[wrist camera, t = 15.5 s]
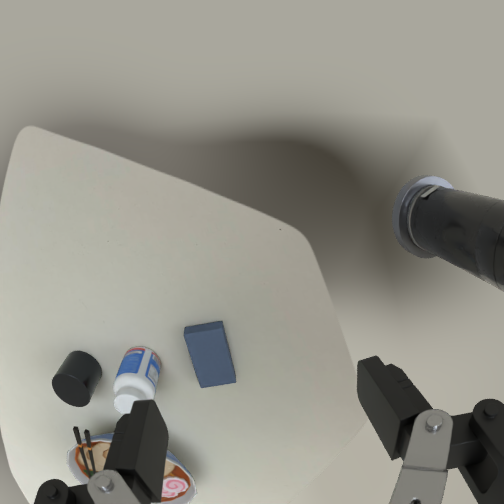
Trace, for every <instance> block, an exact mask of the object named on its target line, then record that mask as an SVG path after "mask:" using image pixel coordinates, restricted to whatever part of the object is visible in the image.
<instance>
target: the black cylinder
mask: <svg viewBox="0 0 504 504" xmlns="http://www.w3.org/2000/svg"><path fill="white" fill-rule="evenodd" d="M101 375H102V371H101V367H100V365H99V363H98V362H97V360H96V359H95V358H94V357H92V356H91V355H89V354H88V353H85V352H82V351H73V352H71V353H70V354H69V355H68V356H67V358H66V359H65V361H64V362H63V364H62V365H61V367H60V368H59V370H58V371H57V373H56V374H55V376H54V377H53V380H52V386H53V389H54V391H55V393H56V394H57V396H58V397H59V398H60V399H61V400H63V401H64V402H66V403H67V404H69V405H72V406H76V407H83V406H86V405H87V404H88V403H89V402H90V399H91V397H92V395H93V393H94V391H95V389H96V386H97V384H98V382H99V380H100V378H101Z"/></svg>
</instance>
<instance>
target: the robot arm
mask: <svg viewBox="0 0 504 504" xmlns="http://www.w3.org/2000/svg"><path fill="white" fill-rule="evenodd" d="M406 223H407V230H408V234H409V236H410V238H411V240H412V242H413V243H414V244H415V245H416V246H417V247H419V248H421V249H423V250H425V251H428V252H430V253H432V254H434V255H436V256H438V257H440V258H442V259H444V260H446V261H448V262H450V263H452V264H454V265H455V266H457V267H459V268H461V269H463V270H465V271H467V272H469V273H471V274H473V275H474V276H476V277H478V278H480V279H482V280H483V281H486V282H487V283H489V284H491V285H493V286H495V287H496V288H498V289H500V290H502V291H504V200H500V199H496V198H492V197H488V196H483V195H478V194H474V193H468V192H464V191H459V190H454V189H449V188H445V187H442V186H437V185H430V186H426V187H424V188H422V189H421V190H420V191H418V192H417V193H416V195H415V196H414V197H413V199H412V201H411V203H410V205H409V208H408V212H407V219H406ZM357 393H358V398H359V401H360V403H361V405H362V407H363V409H364V411H365V412H366V414H367V416H368V418H369V420H370V421H371V423H372V425H373V427H374V429H375V431H376V432H377V434H378V436H379V438H380V440H381V441H382V443H383V445H384V447H385V449H386V451H387V452H388V454H389V456H390V458H391V460H394V459H397V458H399V457H401V458H402V460H403V465H402V468H401V471H400V474H399V477H398V480H397V483H396V486H395V489H394V491H393V494H392V497H391V500H390V503H389V504H441V501H442V498H443V494H444V490H445V485H446V480H447V475H448V470H447V469H452V468H457V467H458V469H459V471H460V472H461V474H462V476H463V478H464V479H465V481H466V483H467V484H468V486H469V488H470V490H471V492H472V493H473V495H474V497H475V499H476V500H477V502H478V504H504V404H503V403H502V402H500V401H498V400H495V399H485V400H482V401H480V402H479V403H477V404H476V405H475V407H474V409H473V412H471V413H466V414H461V415H456V416H450V415H449V414H448V413H446V412H445V411H443V410H439V409H433V408H432V407H431V406H430V404H429V403H428V402H427V401H426V399H425V398H424V397H423V395H422V394H421V393H420V392H419V390H418V389H417V388H416V387H415V386H414V385H413V383H412V382H411V380H410V379H408V377H407V376H406V374H405V373H404V372H403V370H402V369H400V368H398V367H396V366H395V365H393V364H389V365H386V366H385V365H384V364H383V362H382V361H381V360H380V358H379V357H378V356H373V357H370V358H366V359H363V360H360V361H358V365H357ZM167 446H168V430H167V426H166V424H165V422H164V420H163V418H162V416H161V413H160V411H159V409H158V407H157V405H156V403H155V401H154V400H153V399H149V400H136V401H134V402H133V405H132V408H131V412H130V413H126V414H124V415H123V416H122V417H121V418H120V420H119V421H118V422H117V425H116V428H115V431H114V434H113V437H112V442H111V444H110V447H109V451H108V454H107V457H106V461H105V464H104V468H103V470H101V471H99V472H97V473H95V474H94V475H92V477H91V478H90V479H89V481H88V483H87V484H83V485H77V486H72V487H68V486H67V485H66V484H65V483H64V482H63V481H61V480H58V479H51V480H48V481H46V482H44V483H43V484H42V485H41V486H40V488H39V490H38V492H37V495H36V498H35V502H34V504H151V503H161V498H162V488H163V479H164V471H165V462H166V454H167Z"/></svg>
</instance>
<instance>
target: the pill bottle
mask: <svg viewBox="0 0 504 504" xmlns="http://www.w3.org/2000/svg"><path fill="white" fill-rule="evenodd" d="M160 368H161V363H160V359H159V357H158V356H157V355H156V354H155V353H154V352H153V351H152V350H150V349H148V348H146V347H140V346H139V347H133V348H131V349H129V350H128V351H127V352H126V354H125V356H124V358H123V360H122V363H121V366H120V368H119V370H118V373H117V376H116V378H115V381H114V385H113V390H114V393H115V399H114V406H115V408H116V409H117V411H118V412H119V413H121V414H122V415H124V414H126V413H130V412H131V408H132V405H133V402H134V401H136V400H149V399H153V400H154V397H155V392H156V387H157V383H158V378H159V373H160Z"/></svg>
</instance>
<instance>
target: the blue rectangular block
mask: <svg viewBox="0 0 504 504" xmlns="http://www.w3.org/2000/svg"><path fill="white" fill-rule="evenodd" d="M184 338H185V341H186V344H187V347H188V351H189V354H190V357H191V360H192V363H193V366H194V369H195V372H196V375H197V378H198V381H199V384H200V387H201V388H205V387H212V386H218V385H224V384H231V383H236V375H235V371H234V367H233V363H232V359H231V355H230V351H229V347H228V343H227V339H226V335H225V331H224V326H223V322H222V321H218V322H213V323H207V324H201V325H195V326H189V327H185V330H184Z"/></svg>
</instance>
